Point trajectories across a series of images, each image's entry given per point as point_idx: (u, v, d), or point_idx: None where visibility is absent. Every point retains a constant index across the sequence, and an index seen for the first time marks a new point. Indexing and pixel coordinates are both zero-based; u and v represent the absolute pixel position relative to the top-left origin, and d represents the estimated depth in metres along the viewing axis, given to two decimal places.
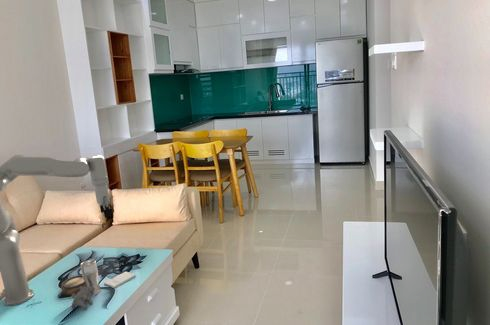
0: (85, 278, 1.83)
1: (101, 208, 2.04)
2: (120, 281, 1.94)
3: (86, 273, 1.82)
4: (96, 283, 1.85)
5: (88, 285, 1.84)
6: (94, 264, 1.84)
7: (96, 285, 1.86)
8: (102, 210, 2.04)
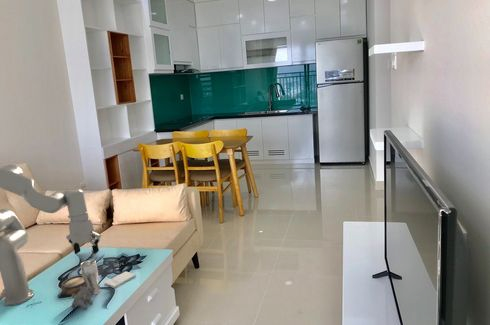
0: (85, 278, 1.83)
1: (75, 249, 1.83)
2: (120, 281, 1.94)
3: (86, 273, 1.82)
4: (96, 283, 1.85)
5: (88, 285, 1.84)
6: (94, 264, 1.84)
7: (96, 285, 1.86)
8: (77, 251, 1.83)
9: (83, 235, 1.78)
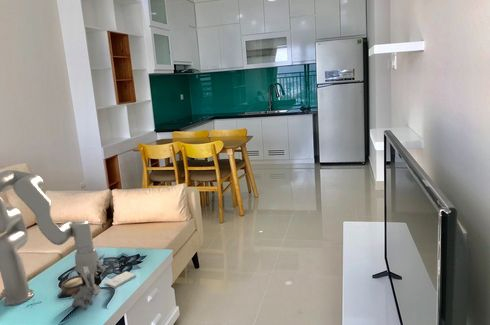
0: (85, 278, 1.83)
1: None
2: (120, 281, 1.94)
3: (86, 273, 1.82)
4: None
5: (88, 285, 1.84)
6: None
7: (96, 285, 1.86)
8: None
9: (89, 266, 1.81)
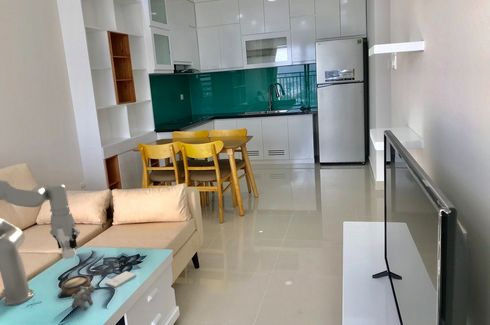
0: (60, 241, 1.85)
1: None
2: (121, 281, 1.94)
3: (61, 235, 1.84)
4: None
5: (63, 248, 1.86)
6: None
7: (71, 248, 1.88)
8: None
9: (64, 228, 1.83)
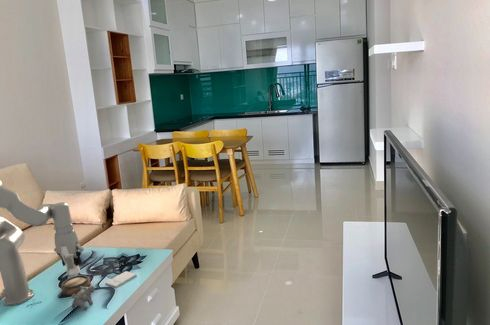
0: (64, 258, 1.87)
1: (63, 261, 1.90)
2: (121, 281, 1.94)
3: (65, 253, 1.86)
4: None
5: (68, 265, 1.88)
6: None
7: None
8: (64, 263, 1.91)
9: (68, 246, 1.85)
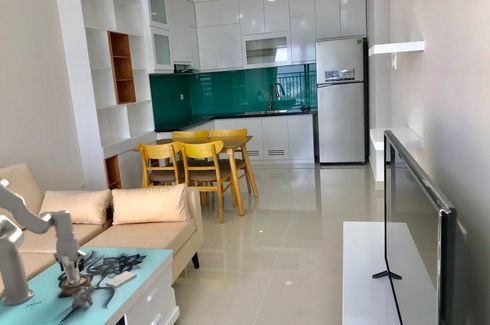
0: (65, 268, 1.88)
1: (62, 267, 1.91)
2: (121, 281, 1.94)
3: (66, 263, 1.87)
4: (76, 273, 1.91)
5: (68, 275, 1.89)
6: None
7: (76, 275, 1.91)
8: (63, 268, 1.91)
9: (69, 254, 1.86)
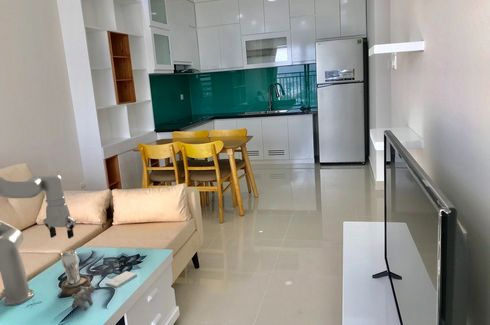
0: (65, 268, 1.88)
1: (51, 233, 1.89)
2: (122, 280, 1.94)
3: (66, 263, 1.87)
4: (76, 273, 1.91)
5: (68, 275, 1.89)
6: (74, 254, 1.89)
7: (76, 275, 1.91)
8: (52, 235, 1.89)
9: (59, 219, 1.84)
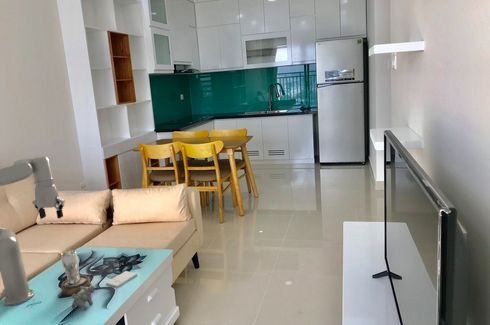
0: (65, 268, 1.88)
1: (41, 214, 1.92)
2: (122, 280, 1.94)
3: (66, 263, 1.87)
4: (76, 273, 1.91)
5: (68, 275, 1.89)
6: (74, 254, 1.89)
7: (76, 275, 1.91)
8: (42, 216, 1.93)
9: (47, 200, 1.87)
